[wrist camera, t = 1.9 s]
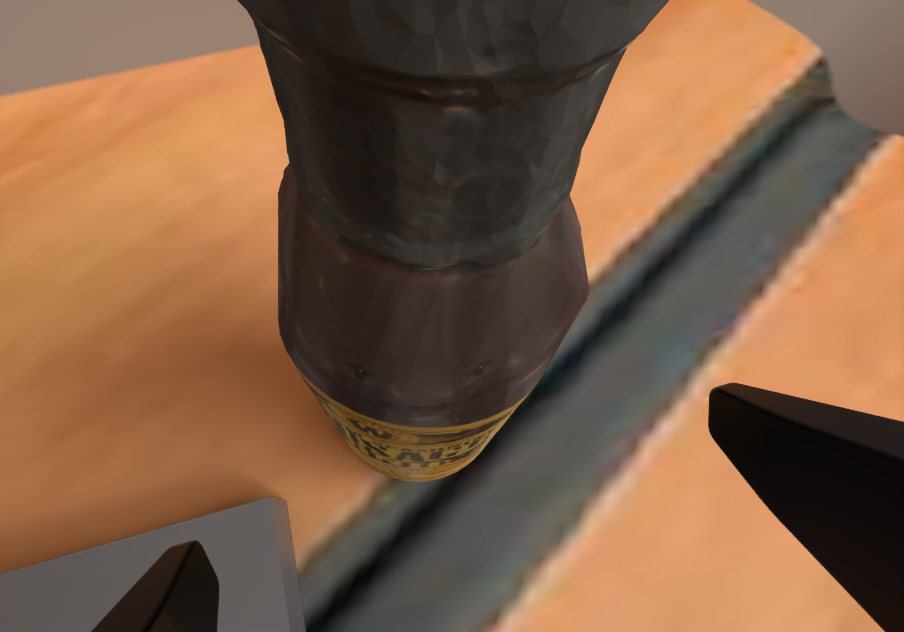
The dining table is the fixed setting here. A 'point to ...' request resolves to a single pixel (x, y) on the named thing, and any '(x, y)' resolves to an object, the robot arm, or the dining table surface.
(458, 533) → the dining table surface
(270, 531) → the stand
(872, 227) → the dining table surface
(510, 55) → the sauce bottle
